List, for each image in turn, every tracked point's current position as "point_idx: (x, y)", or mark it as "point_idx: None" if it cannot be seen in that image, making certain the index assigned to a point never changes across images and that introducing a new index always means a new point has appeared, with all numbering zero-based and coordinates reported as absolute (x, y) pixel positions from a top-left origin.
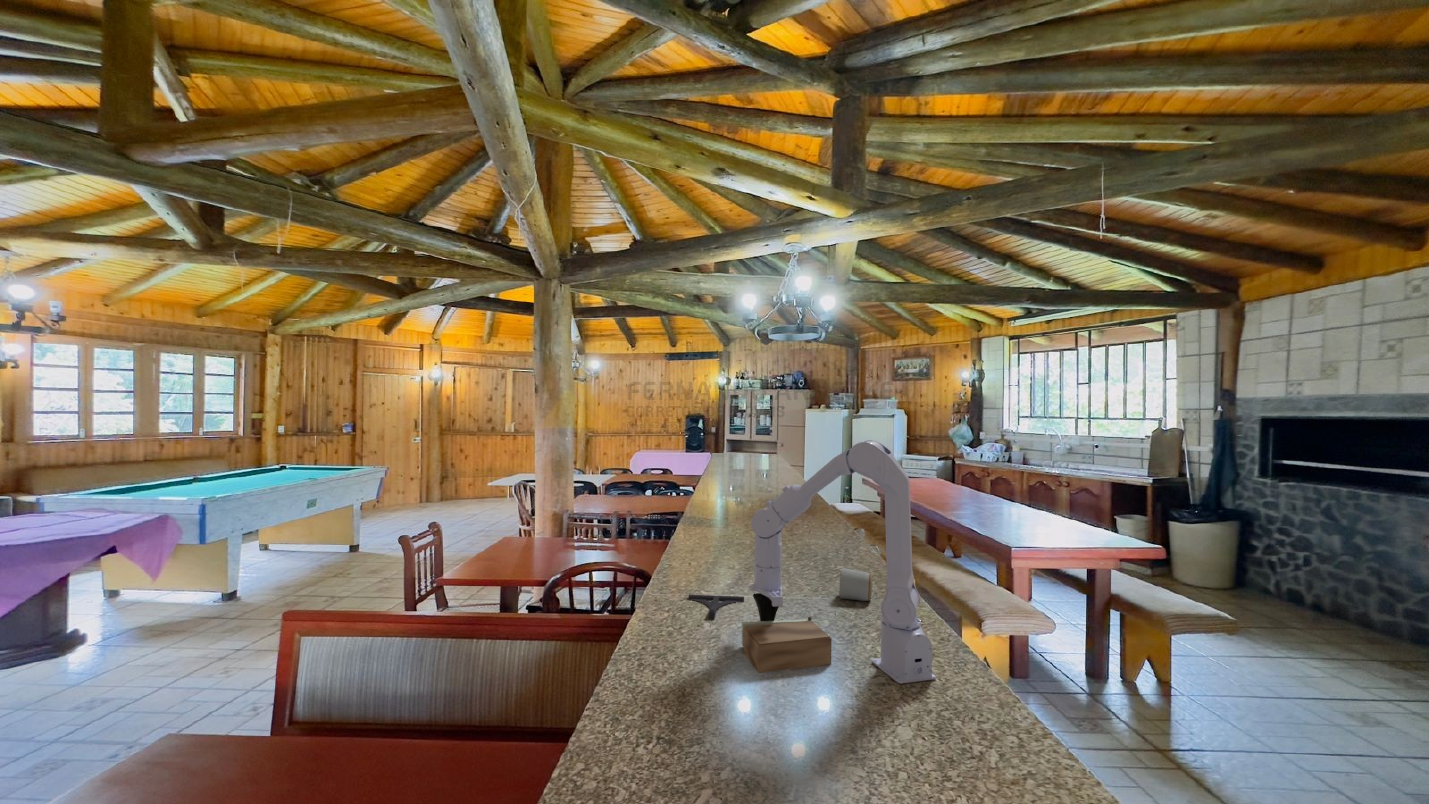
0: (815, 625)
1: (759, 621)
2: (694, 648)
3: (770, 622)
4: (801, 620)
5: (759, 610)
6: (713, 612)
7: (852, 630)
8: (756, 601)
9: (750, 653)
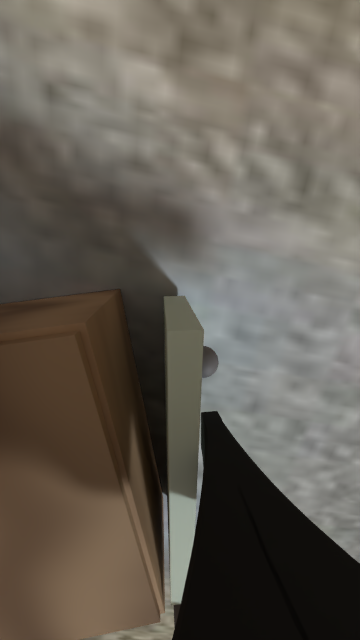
0: (98, 632)
1: (197, 436)
2: (194, 18)
3: (172, 485)
4: (181, 588)
5: (236, 512)
6: None
7: None
8: (296, 633)
9: (3, 310)
